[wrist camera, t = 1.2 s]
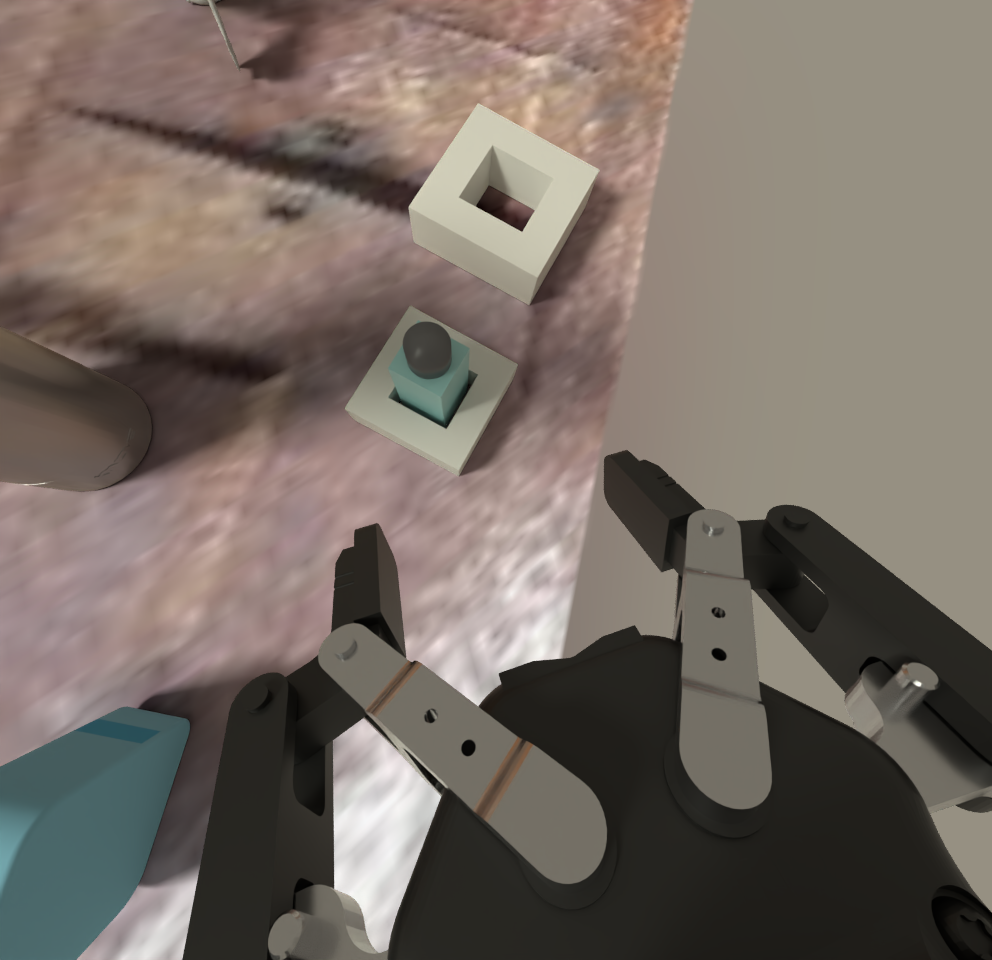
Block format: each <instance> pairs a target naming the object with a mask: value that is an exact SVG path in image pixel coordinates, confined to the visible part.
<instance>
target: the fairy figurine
mask: <svg viewBox="0 0 992 960" xmlns="http://www.w3.org/2000/svg"><path fill="white" fill-rule="evenodd" d="M186 1H188V2H189V3H190V2H193V3H196V4H199V5H210V7H211V10H212V12H213V15H214V17H215V19H216V21H217V23H218V26H219V28H220V31H221V33H222V35H223V37H224V39H225V42H226V44H227V47H228V49H229V51H230V54H231V56H232V58H233V60H234V62H235V65H236V67H237V69H238V70H239V71H240V68H239V64H238V61H237V58H236V55H235V53H234V50H233V48H232V45H231V43H230V41H229V39H228V37H227V34H226V31H225V28H224V25H223V22H222V20H221V17H220V15H219V12H218V10H217V7H216V5H215V3H216V2H218V1H220V0H186Z"/></svg>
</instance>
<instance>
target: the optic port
mask: <svg viewBox="0 0 992 960" xmlns="http://www.w3.org/2000/svg"><path fill="white" fill-rule="evenodd" d="M598 173H599V169H597V168H595V167H593V166H591V165H590V164H588V163H586V162H584V161H582V160H581V159H579V158H577V157H575V156H573V155H571V154H570V153H568V152H566V151H564V150H562V149H561V148H559V147H557V146H555V145H553V144H551V143H550V142H548V141H546V140H544V139H542V138H541V137H539V136H537V135H535V134H533V133H531V132H530V131H528V130H526V129H524V128H522V127H521V126H519V125H517V124H515V123H513V122H511V121H510V120H508V119H506V118H504V117H502V116H501V115H499V114H497V113H495V112H493V111H492V110H490V109H488V108H486V107H484V106H482V105H481V104H479V103H478V104H477V106H476V107H475V109H474V110H473V112H472V113H471V115H470V116H469V118H468V119H467V121H466V122H465V124H464V125H463V127H462V128H461V130H460V131H459V133H458V134H457V136H456V137H455V139H454V140H453V142H452V143H451V145H450V146H449V148H448V149H447V151H446V152H445V154H444V155H443V157H442V158H441V160H440V161H439V162H438V164H437V165H436V167H435V168H434V170H433V171H432V173H431V174H430V176H429V177H428V179H427V180H426V182H425V183H424V185H423V186H422V188H421V189H420V191H419V192H418V194H417V195H416V197H415V198H414V200H413V201H412V203H411V204H410V206H409V214H410V220H411V227H412V234H413V240H414V243H416V244H418V245H420V246H421V247H423V248H425V249H427V250H429V251H430V252H432V253H434V254H436V255H438V256H440V257H441V258H443V259H445V260H447V261H449V262H451V263H452V264H454V265H456V266H458V267H460V268H462V269H463V270H465V271H467V272H469V273H471V274H473V275H474V276H476V277H478V278H480V279H482V280H484V281H485V282H487V283H489V284H491V285H493V286H495V287H496V288H498V289H500V290H502V291H504V292H506V293H507V294H509V295H511V296H513V297H515V298H517V299H518V300H520V301H522V302H524V303H526V304H528V305H530V303H531V302H532V300H533V298H534V296H535V295H536V293H537V291H538V289H539V288H540V286H541V284H542V282H543V281H544V279H545V277H546V275H547V274H548V272H549V270H550V268H551V267H552V265H553V263H554V261H555V260H556V258H557V256H558V254H559V253H560V251H561V249H562V247H563V246H564V244H565V242H566V240H567V239H568V237H569V235H570V233H571V232H572V230H573V228H574V226H575V225H576V223H577V221H578V219H579V218H580V216H581V214H582V212H583V211H584V209H585V207H586V205H587V202H588V199H589V197H590V194H591V191H592V189H593V186H594V183H595V181H596V178H597V176H598ZM489 185H490V186H492V187H493V188H495V189H497V190H499V191H501V192H502V193H504V194H506V195H508V196H510V197H512V198H513V199H515V200H517V201H519V202H521V203H522V204H524V205H526V206H528V207H530V208H532V209H533V210H535V212H534V213H533V215H532V217H531V218H530V220H529V222H528V223H527V225H526V227H525V228H524V230H523V232H521V231H519V230H517V229H515V228H514V227H512V226H510V225H508V224H506V223H505V222H503V221H501V220H499V219H497V218H495V217H494V216H492V215H490V214H488V213H486V212H484V211H483V210H481V209H479V208H477V207H476V205H477V203H478V202H479V200H480V199H481V197H482V196H483V194H484V192H485V191H486V189H487V188H488V186H489Z"/></svg>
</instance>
